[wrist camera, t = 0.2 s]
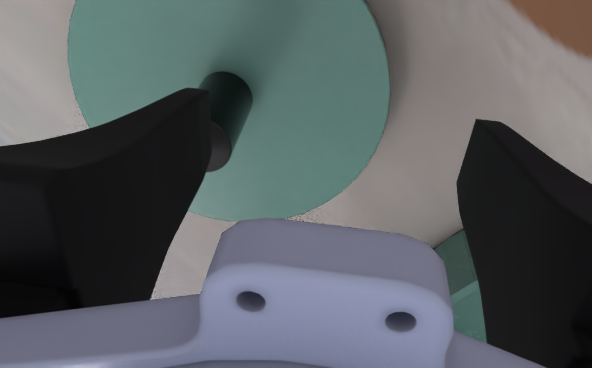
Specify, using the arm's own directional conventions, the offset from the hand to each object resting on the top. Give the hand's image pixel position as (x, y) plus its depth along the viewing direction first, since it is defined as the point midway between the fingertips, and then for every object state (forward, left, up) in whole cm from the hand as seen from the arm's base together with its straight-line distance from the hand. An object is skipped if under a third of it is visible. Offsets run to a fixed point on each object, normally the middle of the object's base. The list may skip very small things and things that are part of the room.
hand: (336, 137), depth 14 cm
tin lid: (-4, +5, -10) cm, 11 cm away
